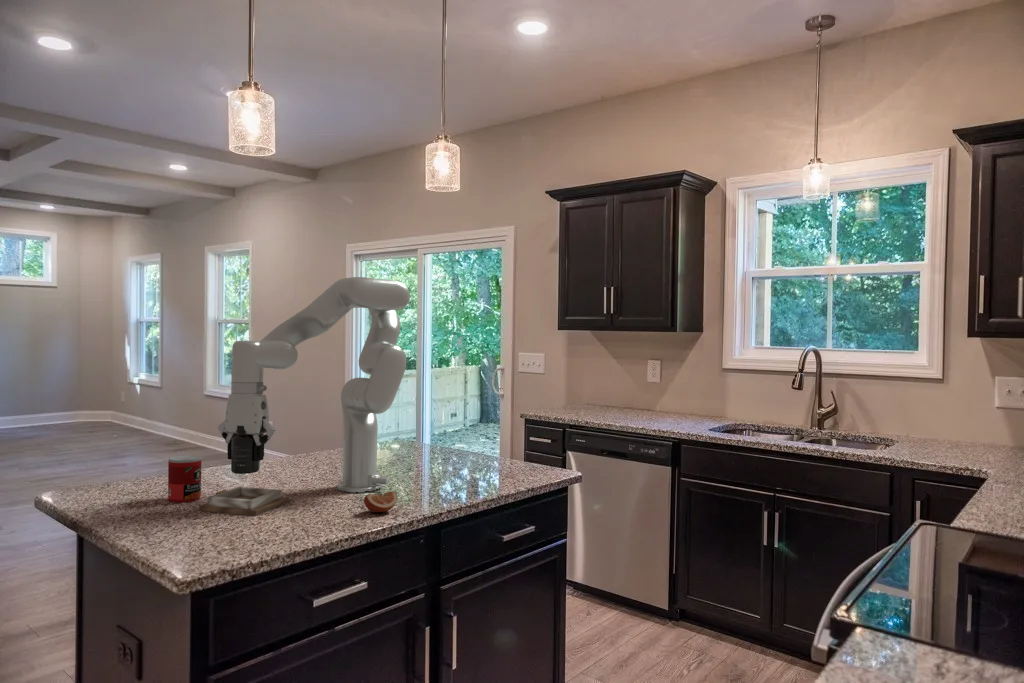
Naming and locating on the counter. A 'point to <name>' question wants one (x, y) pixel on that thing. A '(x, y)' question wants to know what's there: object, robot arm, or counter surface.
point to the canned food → (184, 478)
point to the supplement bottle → (243, 453)
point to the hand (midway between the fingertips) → (245, 458)
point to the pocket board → (244, 501)
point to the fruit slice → (380, 501)
